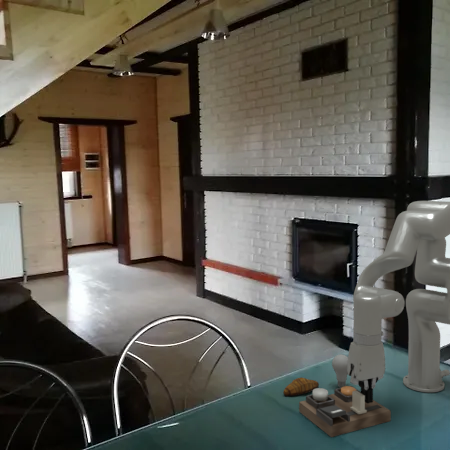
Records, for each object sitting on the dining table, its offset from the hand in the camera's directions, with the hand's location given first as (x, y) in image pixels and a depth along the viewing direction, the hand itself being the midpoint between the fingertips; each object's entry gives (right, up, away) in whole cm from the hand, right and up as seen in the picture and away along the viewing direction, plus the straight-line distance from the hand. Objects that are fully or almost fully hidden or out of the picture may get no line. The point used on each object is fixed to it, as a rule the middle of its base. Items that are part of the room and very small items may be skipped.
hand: (366, 400), depth 142 cm
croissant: (-15, -4, +20) cm, 26 cm away
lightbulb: (-2, -4, +22) cm, 22 cm away
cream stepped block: (-3, -2, -1) cm, 4 cm away
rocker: (-10, -2, -4) cm, 11 cm away
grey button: (-12, -1, +5) cm, 13 cm away
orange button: (-3, -1, +9) cm, 9 cm away
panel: (-6, -5, +3) cm, 8 cm away
